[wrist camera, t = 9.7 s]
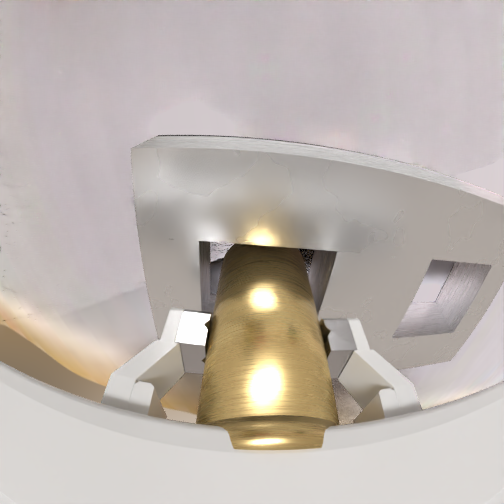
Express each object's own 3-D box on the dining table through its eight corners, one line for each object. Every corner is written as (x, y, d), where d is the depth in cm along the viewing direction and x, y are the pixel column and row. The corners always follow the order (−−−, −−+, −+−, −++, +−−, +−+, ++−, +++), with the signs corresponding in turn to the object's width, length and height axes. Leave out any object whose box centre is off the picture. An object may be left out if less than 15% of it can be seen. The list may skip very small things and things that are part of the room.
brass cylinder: (311, 237, 12) (369, 438, 4) (297, 304, 14) (319, 474, 7) (222, 230, 12) (180, 440, 4) (221, 299, 14) (198, 473, 6)
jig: (502, 195, 11) (531, 217, 9) (436, 332, 18) (450, 360, 15) (159, 135, 11) (130, 148, 8) (175, 329, 17) (165, 366, 14)
